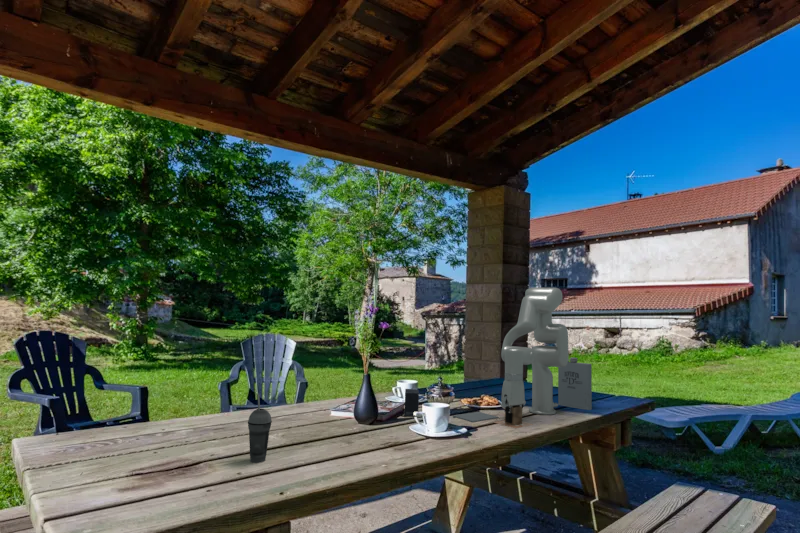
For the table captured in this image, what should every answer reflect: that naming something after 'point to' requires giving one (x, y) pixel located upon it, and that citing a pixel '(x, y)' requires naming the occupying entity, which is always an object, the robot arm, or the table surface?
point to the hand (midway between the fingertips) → (513, 421)
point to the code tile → (513, 425)
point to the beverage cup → (259, 433)
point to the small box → (411, 401)
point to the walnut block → (515, 415)
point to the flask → (575, 385)
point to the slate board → (475, 416)
